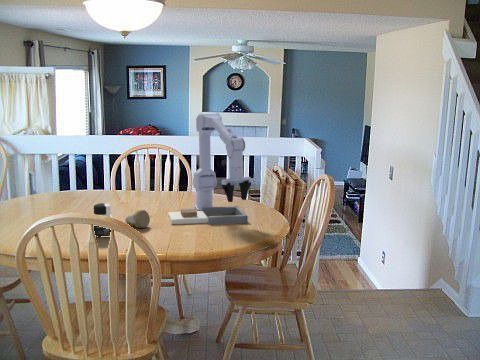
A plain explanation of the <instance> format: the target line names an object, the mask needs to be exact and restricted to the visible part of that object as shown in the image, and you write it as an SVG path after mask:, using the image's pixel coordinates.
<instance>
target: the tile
mask: <svg viewBox="0 0 480 360" xmlns="http://www.w3.org/2000/svg"><path fill="white" fill-rule="evenodd" d="M197 211H198V210H197V209H196V208H181V209H180V212H181V215H182V217H197Z"/></svg>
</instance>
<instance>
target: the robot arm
mask: <svg viewBox="0 0 480 360" xmlns="http://www.w3.org/2000/svg"><path fill="white" fill-rule="evenodd" d="M195 120H196V121H195V123H196V124H195V125H196V126H195V127H196V132H198V141H199V142H198V147H199V148H198V149H199V153H198V154H199V159H198V160H199V168H197V170H195V172H193V179H192V185H193V187H194V189H195V190H196V199H195V200H196V201H195V202H196V203H195V204H194V205H193V206H194V209H195V210H196V211H202V207H214V206H213V196H214V195H213V191H214V190H215V188H216V187H217V184H218V182H217V181H218V180H217V177H216V172H215V171H214V170H213V169H211V167H212V165H211V162H212V161H211V160H212V159H211V134H212V133H213V132H215V131H217V132H218V134H219V139H220V141H222V142H223V143H224V145H225V150H226V154H227V155H226V156H227V157H228V170H229V171H228V173H229V178H224V179H221V187H222V189H223V190H224V193H225V195H226V199H227V202H229V203H233V201H234V189H235V185H234V184H238V185H239V190H240V197H241V200H242V201H246V200H247V197H248V192H249V191H250V188H251V187H252V178H251V176H244V156H243V153H244V152H245V149H246V141H245V140H244V137H241V136H240V137H239V136H237V135H236V134H235V132H233V130H232V128H230V127H226V125H225V124H224V123H223V120H222V116H221V114H220V113H218V112H216V113H198V114H197V116H196V119H195Z"/></svg>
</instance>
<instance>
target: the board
mask: <svg viewBox="0 0 480 360" xmlns="http://www.w3.org/2000/svg"><path fill="white" fill-rule="evenodd" d="M196 211H197V217H182V215H181V211H168V212H167V214H168V216H167V217H168V219H169V222H170V224H171V225H185V224H187V225H188V224H189V225H190V224H208V215H205V214H204V212H203V211H202V210H196Z"/></svg>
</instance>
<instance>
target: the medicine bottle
mask: <svg viewBox="0 0 480 360" xmlns="http://www.w3.org/2000/svg"><path fill="white" fill-rule="evenodd" d="M111 209H112V208H111V205H110V204H109V203H106V202H103V203H101V202H100V203H96V204H94V205H93V215H94V214H95V215H102V216H107V217H111V218H112V219H113V214H111V213H112V212H111ZM94 231H95V235H96V237H97V236H98V237H101V236H110V232H111V230H110V229H106V228H103V227H99V226H94Z"/></svg>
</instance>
